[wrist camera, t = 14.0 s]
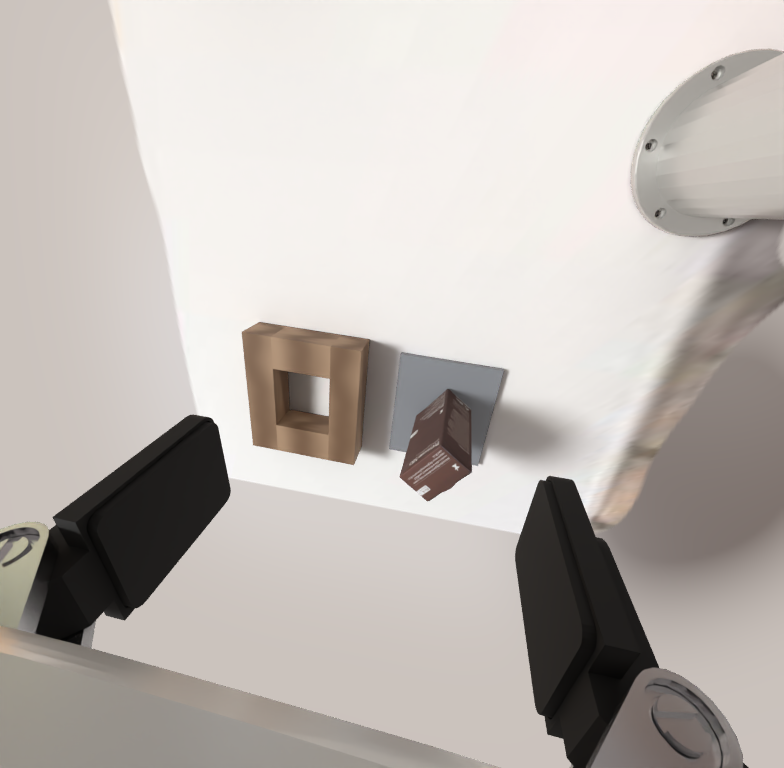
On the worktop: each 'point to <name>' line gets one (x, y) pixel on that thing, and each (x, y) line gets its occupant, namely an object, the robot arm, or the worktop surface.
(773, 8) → the worktop surface
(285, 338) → the pocket block
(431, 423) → the box
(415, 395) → the mat
